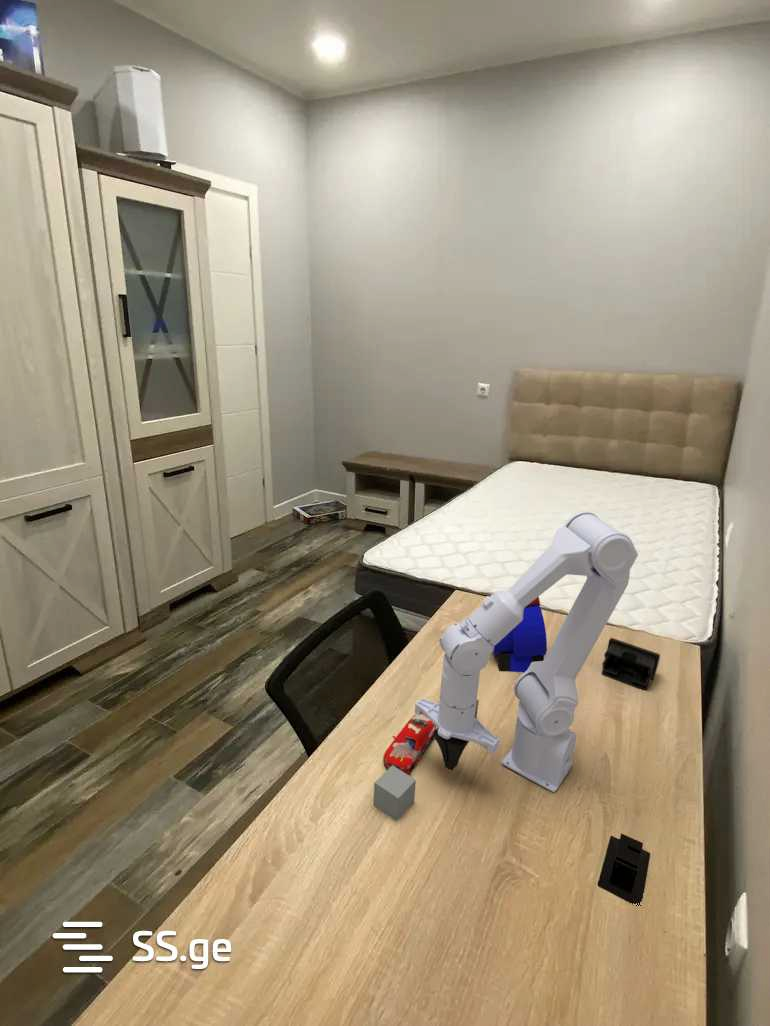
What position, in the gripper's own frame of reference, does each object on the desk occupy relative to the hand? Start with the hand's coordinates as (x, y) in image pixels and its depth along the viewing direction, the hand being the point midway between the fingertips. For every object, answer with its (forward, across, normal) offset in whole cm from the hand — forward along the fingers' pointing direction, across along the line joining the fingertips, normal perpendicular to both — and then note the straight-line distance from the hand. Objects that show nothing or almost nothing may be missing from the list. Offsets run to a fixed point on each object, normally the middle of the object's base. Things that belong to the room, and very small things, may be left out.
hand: (451, 765), depth 93 cm
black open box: (+2, +28, +1) cm, 28 cm away
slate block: (+2, -3, -11) cm, 12 cm away
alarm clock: (+2, -7, +38) cm, 39 cm away
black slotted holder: (+2, +15, +48) cm, 50 cm away
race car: (+2, -8, 0) cm, 8 cm away
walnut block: (+2, -5, +12) cm, 13 cm away
